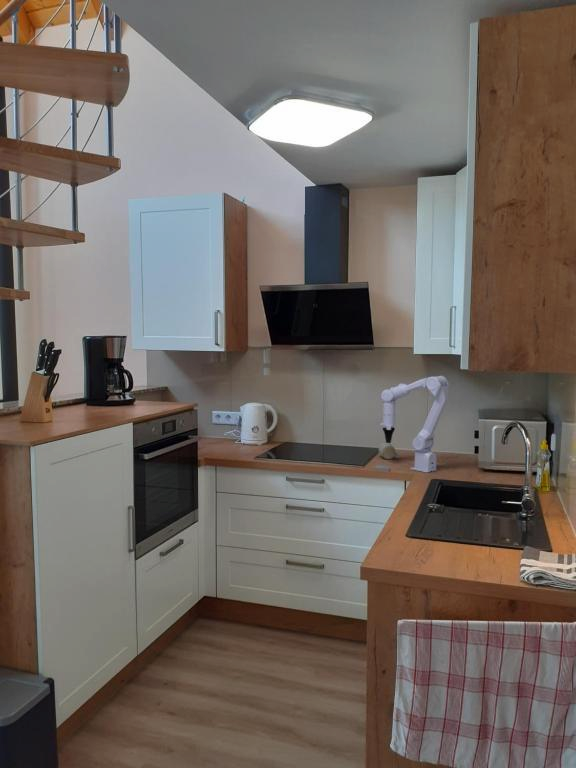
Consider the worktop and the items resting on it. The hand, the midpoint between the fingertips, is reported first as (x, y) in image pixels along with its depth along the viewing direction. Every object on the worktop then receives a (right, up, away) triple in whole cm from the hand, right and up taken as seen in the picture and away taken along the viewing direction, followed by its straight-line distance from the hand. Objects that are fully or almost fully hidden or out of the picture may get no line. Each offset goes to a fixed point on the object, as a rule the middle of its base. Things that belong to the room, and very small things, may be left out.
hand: (388, 442), depth 289 cm
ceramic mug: (+3, -10, +16) cm, 19 cm away
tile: (-4, -10, -9) cm, 15 cm away
